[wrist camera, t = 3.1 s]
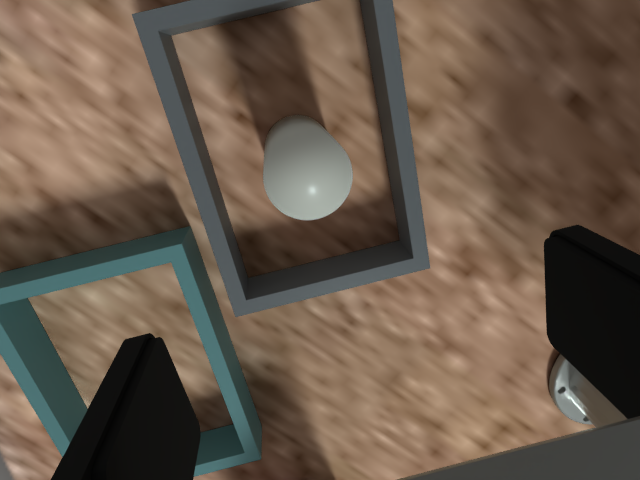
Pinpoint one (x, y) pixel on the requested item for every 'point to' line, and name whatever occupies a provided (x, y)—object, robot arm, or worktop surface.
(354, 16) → the worktop surface
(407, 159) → the bin
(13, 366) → the bin
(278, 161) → the canister
